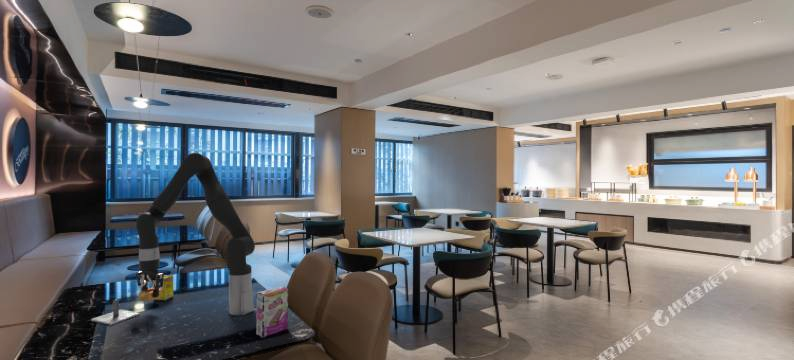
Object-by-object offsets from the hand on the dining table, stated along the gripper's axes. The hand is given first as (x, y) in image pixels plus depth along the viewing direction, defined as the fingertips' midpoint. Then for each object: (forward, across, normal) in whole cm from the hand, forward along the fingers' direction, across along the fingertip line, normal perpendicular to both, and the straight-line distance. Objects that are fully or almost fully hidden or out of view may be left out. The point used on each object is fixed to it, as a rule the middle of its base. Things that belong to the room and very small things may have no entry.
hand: (150, 296), depth 169 cm
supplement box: (+7, +11, -14) cm, 19 cm away
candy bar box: (+9, -62, -3) cm, 63 cm away
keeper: (+7, +8, +10) cm, 14 cm away
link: (+1, 0, 0) cm, 1 cm away
